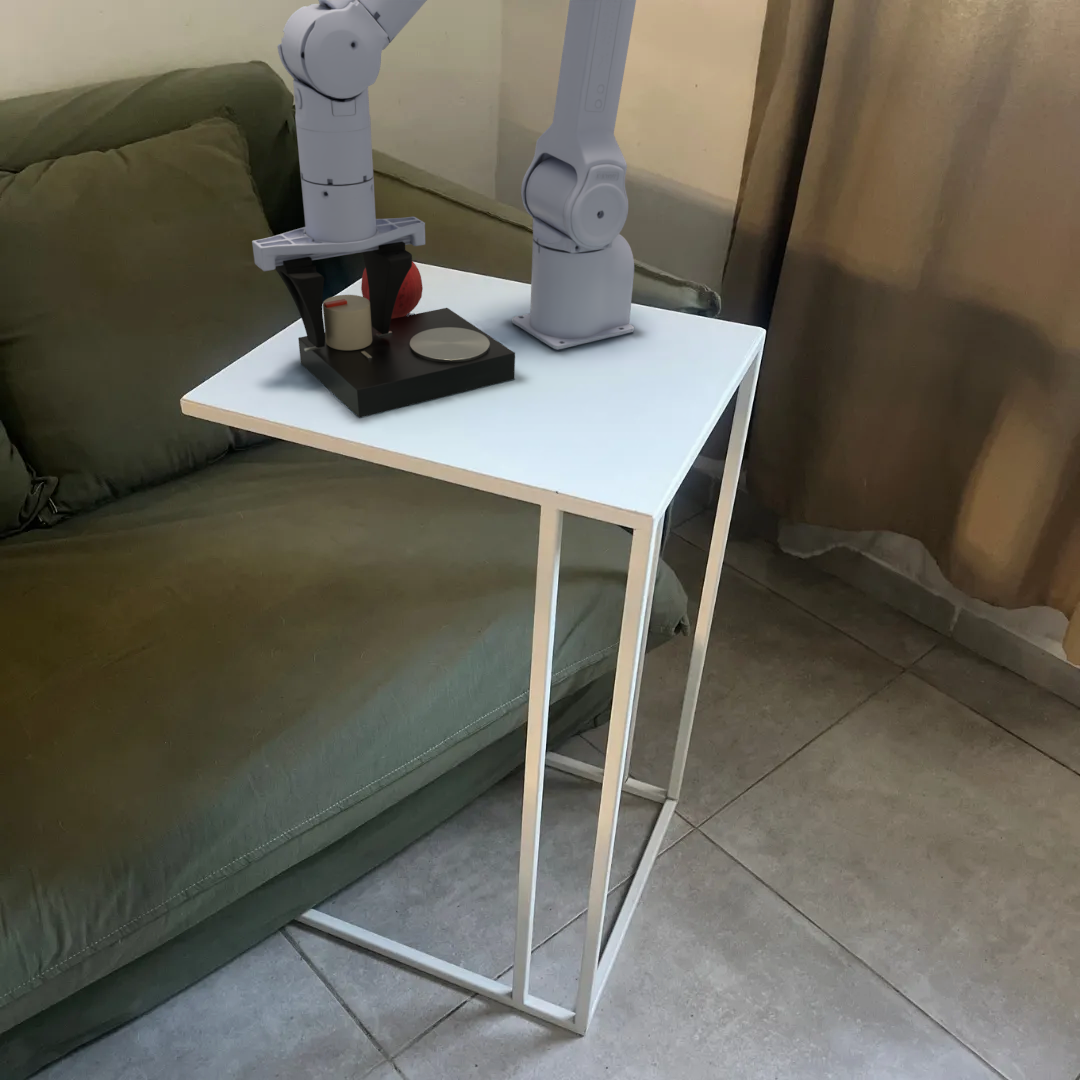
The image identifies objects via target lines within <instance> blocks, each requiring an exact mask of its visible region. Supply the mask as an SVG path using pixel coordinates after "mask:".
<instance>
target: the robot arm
mask: <svg viewBox="0 0 1080 1080" xmlns="http://www.w3.org/2000/svg"><path fill="white" fill-rule="evenodd" d="M426 2H428V0H318V3H311V4H309V5H307V6H306V5H304V6H301V7H300V8H298V9H296V10H295V11H294V12H293V13H291V15H290V16H289V17H288V19H287V21H286V22H285V24H284V27H283V30H282V33H283V37H281V43H279V44H278V45H277V53H278V57H279V60H280V61H281V64H282V65H283V68H284V69H285V70H286V72H287V73H288V74H289V75H290V76H291V78H292V79H293V80H292V85H293V86H292V87H293V96H294V107H295V115H294V118H295V119H294V121H295V128H296V129H295V130H296V137H297V138H296V139H297V148H298V150H297V151H298V161H299V173H300V183H301V184H300V185H301V193H302V195H301V196H302V204H303V215H304V226H303V227H300V228H297V229H296V228H295V229H293V230H289V231H286V232H283V233H280V234H276V235H273V236H269V237H265V238H260V239H255V240H252V241H251V243H252V244H251V245H252V253H253V261H254V265H255V266H257V268H258V269H260V270H262V271H263V272H268V271H269V272H270V271H274V270H275V271H276V272H277V274H278V275H279V277H280V279H281V280H282V281H283V283H284V284H285V287H286V288H287V290H288V292H289V294H290V296H291V298H292V299H293V303H294V304H295V306H296V308H297V310H298V313H299V315H300V319H301V321H302V324H303V327H304V329H305V334H306V336H307V338H308V341H310V342H311V343H312V344H313V345H314V346H315V347H317V348H319V347H324V346H325V325H324V314H323V300H324V299H323V298H324V297H323V296H324V286H325V277H324V276H323V275H322V274H320V272H317V265H316V264H313V261H316V260H323V259H329V258H334V257H340V256H348V255H354V254H359V253H362V258H363V262H364V266H365V267H366V273H367V279H368V286H369V301H370V309H371V324H372V327H373V328H374V329H376V330H377V331H378V332H380V333H381V334H386V333H389V328H390V322H391V317H392V313H393V309H394V305H395V301H396V298H397V295H398V292H399V290H400V287H401V285H402V283H403V281H404V279H405V277H406V275H407V273H408V272H409V270H410V268H411V267H412V261H413V255H412V253H411V252H410V251H408V250H406V246H407V245H412V246H413V247H420V246H425V245H426V222H424V221H423V220H421V219H419V218H418V217H416V216H408V217H395V218H377V217H376V199H375V197H376V196H375V179H374V161H373V160H374V159H373V143H372V142H373V141H372V140H373V139H372V123H371V114H370V97H369V96H370V95H369V87H370V86H372V85H374V84H375V83H376V81H377V79H378V77H379V74H380V70H381V64H382V53H383V51H384V50H386V48H387V47H388V46H389V45H390V44H391V43H392V42H393V40H395V38H396V37H397V36H398V35H399V33H400V32H401V31H402V30H403V29H404V28H405V26H406V25H407V24H408V23H409V22H410V21H411V19H412V18H413V17H414V16H415V15H416V14H417V13H418V11H419V10H420V9H421V8H422V7H423V6H424V5H425V3H426ZM636 3H637V0H569V3H568V11H567V16H566V24H565V30H564V31H565V32H564V38H563V45H562V52H561V61H560V68H559V75H558V82H557V88H556V96H555V104H554V110H553V118H552V123H551V124H550V125H549V126H548V128H546V130H544V131H543V132H542V134H541V135H540V136H539V137H538V138H537V139H536V142H535V143H536V144H535V149H534V155H533V158H532V160H531V163H530V165H529V166H528V168H527V170H526V171H525V173H524V176H523V178H522V182H521V186H520V196H521V202H522V205H523V208H524V209H525V211H526V213H527V214H528V215H530V217H532V252H531V279H530V280H531V281H530V305H529V306H530V307H529V313H526V314H521V315H516V316H513V317H512V318H511V322H512V324H514V325H516V326H517V327H519V328H521V330H524V331H525V332H527V333H528V334H530V335H531V336H533V337H535V338H536V339H538V340H539V341H541V342H543V343H544V344H546V345H547V346H549V347H550V348H552V349H553V350H562V349H567V348H572V347H576V346H580V345H584V344H587V343H592V342H597V341H600V340H605V339H609V338H613V337H617V336H622V335H627V334H631V333H633V332H634V331H635V326H634V325H632V324H630V320H631V309H632V300H633V299H632V298H633V289H634V277H635V260H634V259H635V258H634V254H633V250H632V248H631V245H630V243H629V242H628V240H627V239H626V238H625V237H624V236H623V235H622V234H620V233H621V232H622V230H623V228H624V226H625V224H626V222H627V219H628V215H629V197H628V194H627V189H626V175H627V171H628V164H627V161H626V158H625V156H624V155H623V152H622V149H621V147H620V145H619V144H618V141H617V139H616V136H615V128H616V122H617V117H618V115H617V114H618V110H619V103H620V99H621V92H622V88H623V87H622V86H623V80H624V74H625V69H626V63H627V57H628V50H629V44H630V39H631V33H632V27H633V22H634V15H635V9H636ZM365 267H364V268H365Z"/></svg>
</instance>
